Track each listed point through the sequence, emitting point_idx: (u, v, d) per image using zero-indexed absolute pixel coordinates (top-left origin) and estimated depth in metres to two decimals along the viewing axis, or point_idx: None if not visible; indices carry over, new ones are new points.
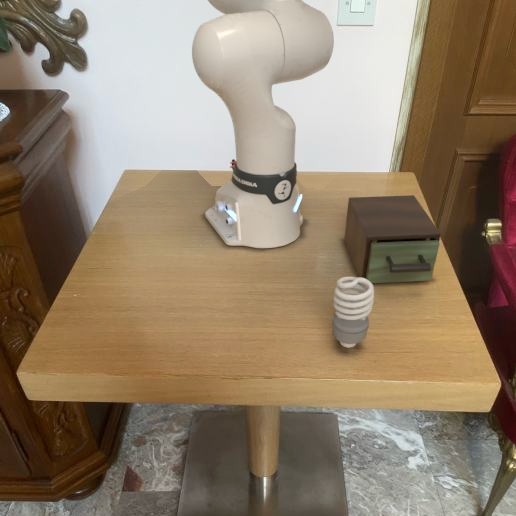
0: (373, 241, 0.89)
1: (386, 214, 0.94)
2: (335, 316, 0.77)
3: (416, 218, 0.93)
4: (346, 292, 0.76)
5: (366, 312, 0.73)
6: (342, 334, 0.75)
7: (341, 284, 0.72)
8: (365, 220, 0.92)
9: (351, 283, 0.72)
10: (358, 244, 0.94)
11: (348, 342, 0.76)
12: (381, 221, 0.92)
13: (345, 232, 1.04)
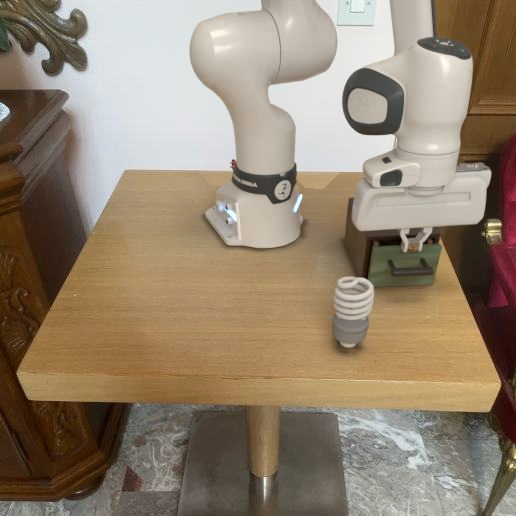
0: (375, 244, 0.88)
1: None
2: (335, 316, 0.77)
3: None
4: (346, 292, 0.76)
5: (366, 312, 0.73)
6: (342, 334, 0.75)
7: (341, 284, 0.72)
8: None
9: (351, 283, 0.72)
10: (358, 244, 0.94)
11: (348, 342, 0.76)
12: None
13: (345, 232, 1.04)
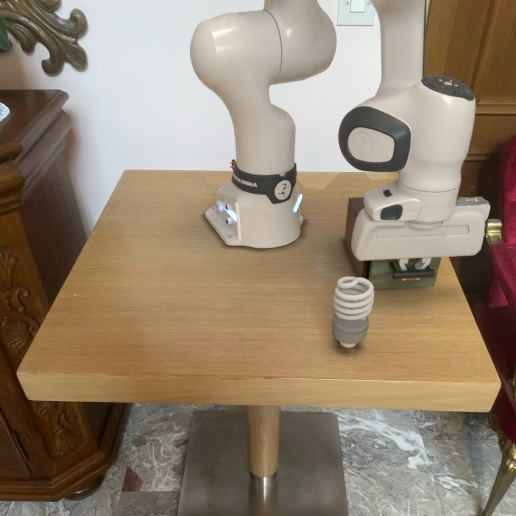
0: None
1: None
2: (335, 316, 0.77)
3: None
4: (346, 292, 0.76)
5: (366, 312, 0.73)
6: (342, 334, 0.75)
7: (341, 284, 0.72)
8: None
9: (351, 283, 0.72)
10: None
11: (348, 342, 0.76)
12: None
13: (345, 232, 1.04)
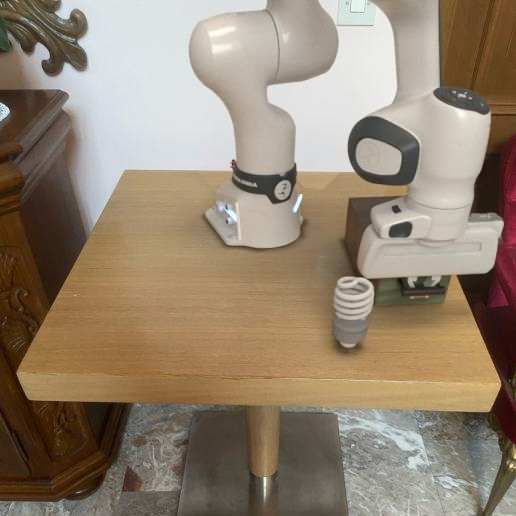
0: None
1: None
2: (335, 316, 0.77)
3: None
4: (346, 292, 0.76)
5: (366, 312, 0.73)
6: (342, 334, 0.75)
7: (341, 284, 0.72)
8: (365, 220, 0.92)
9: (351, 283, 0.72)
10: (358, 244, 0.94)
11: (348, 342, 0.76)
12: None
13: (345, 232, 1.04)
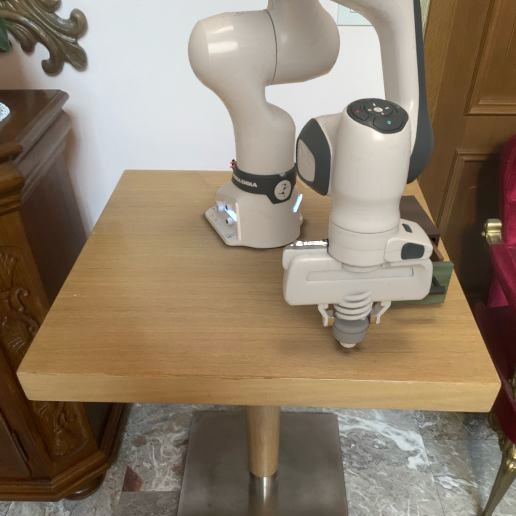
0: None
1: None
2: (335, 316, 0.77)
3: (416, 218, 0.93)
4: None
5: (366, 312, 0.73)
6: (342, 334, 0.75)
7: None
8: None
9: None
10: None
11: (348, 342, 0.76)
12: None
13: None
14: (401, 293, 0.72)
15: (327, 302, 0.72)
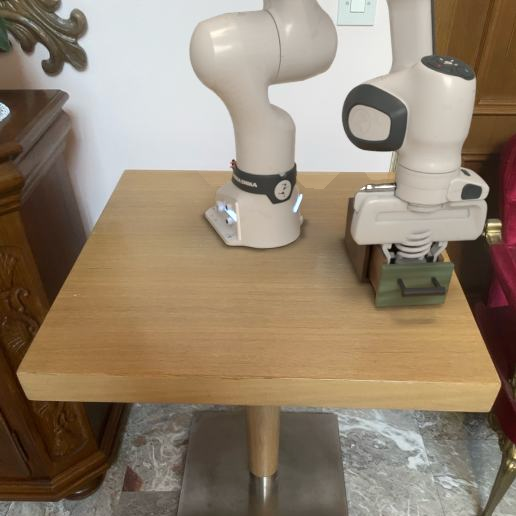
0: (383, 262, 0.84)
1: None
2: (396, 257, 0.86)
3: None
4: None
5: (426, 251, 0.82)
6: None
7: None
8: None
9: None
10: (358, 244, 0.94)
11: None
12: None
13: (345, 232, 1.04)
14: (457, 233, 0.81)
15: (391, 242, 0.81)
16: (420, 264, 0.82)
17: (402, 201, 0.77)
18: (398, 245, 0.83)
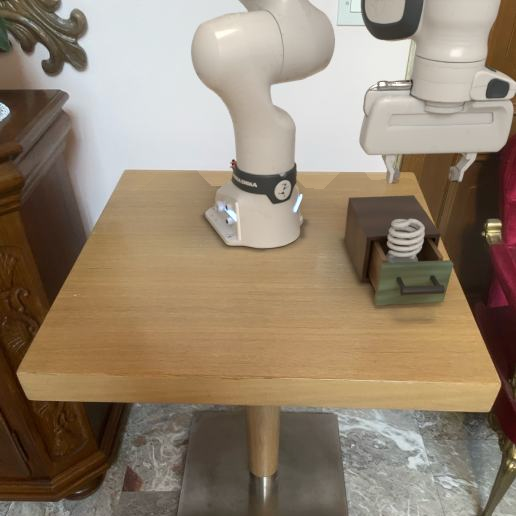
0: (383, 261, 0.84)
1: (386, 214, 0.94)
2: (387, 255, 0.86)
3: (416, 218, 0.93)
4: None
5: (417, 250, 0.83)
6: None
7: (395, 224, 0.82)
8: (365, 220, 0.92)
9: (405, 223, 0.81)
10: (358, 244, 0.94)
11: None
12: (381, 221, 0.92)
13: (345, 232, 1.04)
14: (479, 143, 0.72)
15: (405, 152, 0.73)
16: (419, 263, 0.83)
17: (419, 101, 0.68)
18: (389, 244, 0.83)
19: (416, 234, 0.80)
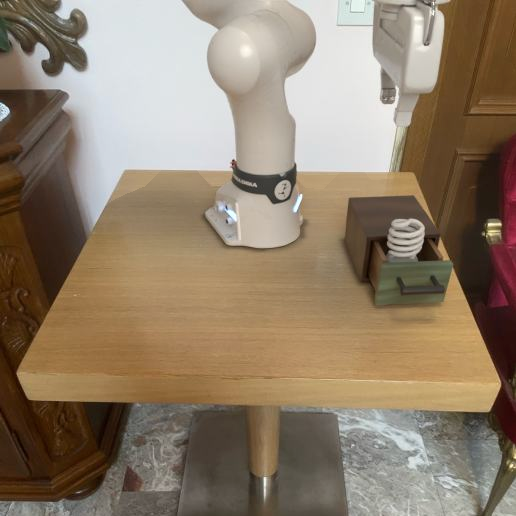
0: (383, 261, 0.84)
1: (386, 214, 0.94)
2: (387, 255, 0.86)
3: (416, 218, 0.93)
4: None
5: (417, 250, 0.83)
6: None
7: (395, 224, 0.82)
8: (365, 220, 0.92)
9: (405, 223, 0.81)
10: (358, 244, 0.94)
11: None
12: (381, 221, 0.92)
13: (345, 232, 1.04)
14: None
15: None
16: (419, 263, 0.83)
17: None
18: (389, 244, 0.83)
19: (416, 234, 0.80)
